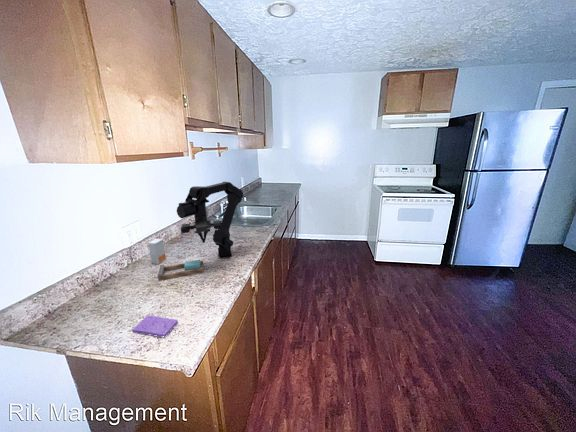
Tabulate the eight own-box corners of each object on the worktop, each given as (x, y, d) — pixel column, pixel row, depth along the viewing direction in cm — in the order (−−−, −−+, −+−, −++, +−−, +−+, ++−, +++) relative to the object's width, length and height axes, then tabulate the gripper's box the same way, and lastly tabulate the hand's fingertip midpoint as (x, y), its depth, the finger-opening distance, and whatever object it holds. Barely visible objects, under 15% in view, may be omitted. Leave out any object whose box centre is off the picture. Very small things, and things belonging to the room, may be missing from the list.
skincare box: (158, 264, 122) (154, 243, 118) (151, 263, 122) (147, 242, 119) (166, 259, 127) (163, 239, 124) (160, 258, 128) (156, 238, 124)
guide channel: (203, 263, 122) (202, 258, 121) (204, 272, 114) (203, 266, 113) (161, 270, 115) (160, 265, 115) (158, 280, 107) (157, 275, 106)
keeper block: (200, 266, 120) (200, 259, 119) (200, 271, 115) (199, 264, 114) (186, 268, 118) (185, 261, 117) (185, 273, 113) (184, 266, 112)
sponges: (165, 339, 76) (164, 334, 75) (132, 333, 78) (131, 328, 78) (178, 323, 82) (178, 319, 82) (148, 318, 85) (147, 314, 84)
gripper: (177, 219, 102) (182, 251, 107) (221, 215, 108) (224, 246, 112) (179, 212, 112) (184, 242, 117) (219, 209, 118) (222, 237, 122)
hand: (204, 242), depth 117 cm, fingers closed
